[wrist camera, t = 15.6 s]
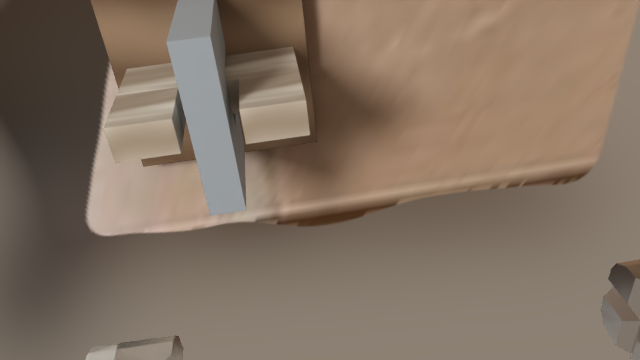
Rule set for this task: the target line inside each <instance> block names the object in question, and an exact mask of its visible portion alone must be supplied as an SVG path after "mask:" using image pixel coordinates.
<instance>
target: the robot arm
mask: <svg viewBox="0 0 640 360" xmlns="http://www.w3.org/2000/svg"><path fill="white" fill-rule="evenodd" d="M608 279H609V281H610V282H611V283H612V285H613V287H612V288H611V289H610V290H609V291H608V292H607V293H606V294H605V295H604V296H603V301H602V306H601V312H602V317H603V323H604V325H605V328H606V330H607V332H608V334H609V336H610V337H611V339H612V340H613V342H614V343H615V345H617V346H619V347H620V348H622V349H624V350H626V351H628V352H629V353H631V354H630V360H640V260H634V261H628V262H622V263H616V264H615V265H614V266H613V267H612V268H611V271H610V274H609V277H608ZM182 359H183V346H182V343H181V341H180V338H179V336H168V337H161V338H154V339H147V340H139V341H131V342H124V343H120V344H113V345H105V346H99V347H93V348H92V349H91V350H90V352H89V353H88V355H87V357H86V360H182Z"/></svg>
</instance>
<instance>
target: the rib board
mask: <svg viewBox="0 0 640 360" xmlns="http://www.w3.org/2000/svg"><path fill="white" fill-rule="evenodd" d="M177 2H178V0H91V3H92V6H93V9H94V12H95V16H96V19H97V22H98V25H99V28H100V31H101V34H102V38H103V40H104V44H105V47H106V50H107V53H108V57H109V60H110V63H111V66H112V69H113V72H114V75H115V79H116V82H117V85H118V88H119V90H118V93H117V95H116V98H115V101H114V103H113V106H112V108H111V111H110V113H109V116H108V118H107V121H106V123H105V126H104V128H103V129H104V132H105V135H106V138H107V140H108V143H109V146H110V149H111V152H112V155H113V158H114V160H115V163H118V162H125V161H132V160H139V159H141V161H142V164H143V167H145V166H152V165H159V164H166V163H172V162H179V161H186V160H193V159H196V157H195V154H194V150H193V146H192V142H191V138H190V134H189V130H188V126H187V122H186V118H185V114H184V110H183V106H182V102H181V98H180V94H179V90H178V86H177V82H176V78H175V74H174V71H173V67H172V63H171V59H170V55H169V51H168V47H167V43H166V41H167V38H168V34H169V30H170V27H171V23H172V20H173V16H174V13H175V9H176V5H177ZM217 5H218V11H219V16H220V21H221V26H222V31H223V36H224V42H225V47H226V51H225V77H226V82H227V87H228V92H229V97H230V102H231V107H232V112H233V113H237V112H238V114H239V119H240V124H241V130H242V135H243V140H244V152H249V151H256V150H263V149H270V148H277V147H284V146H291V145H298V144H305V143H312V142H317V136H316V126H315V117H314V108H313V99H312V90H311V80H310V71H309V62H308V53H307V44H306V35H305V25H304V16H303V7H302V0H217Z"/></svg>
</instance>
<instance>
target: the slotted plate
mask: <svg viewBox="0 0 640 360" xmlns="http://www.w3.org/2000/svg"><path fill="white" fill-rule="evenodd" d="M166 43H167V47H168V51H169V55H170V59H171V63H172V67H173V71H174V74H175V78H176V82H177V86H178V90H179V94H180V98H181V102H182V106H183V110H184V114H185V118H186V122H187V126H188V130H189V134H190V138H191V142H192V146H193V150H194V154H195V157H196V161H197V165H198V169H199V173H200V177H201V181H202V185H203V189H204V193H205V197H206V201H207V205H208V209H209V213H210V216H211V215H218V214H224V213H231V212H238V211H245V210H246V186H245V155H244V140H243V135H242V130H241V124H240V119H239V114H238V112H237V113H233V112H232V107H231V102H230V97H229V92H228V87H227V82H226V77H225V51H226V47H225V42H224V36H223V31H222V26H221V21H220V16H219V11H218V5H217V0H178V2H177V5H176V9H175V13H174V16H173V20H172V23H171V27H170V30H169V34H168V38H167V41H166Z"/></svg>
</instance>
